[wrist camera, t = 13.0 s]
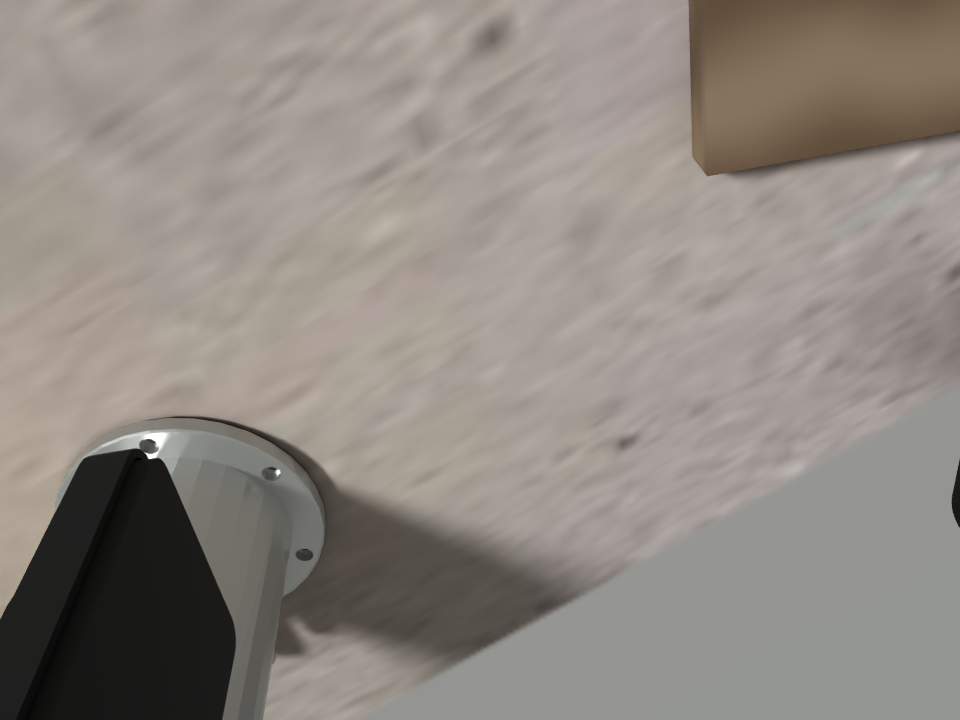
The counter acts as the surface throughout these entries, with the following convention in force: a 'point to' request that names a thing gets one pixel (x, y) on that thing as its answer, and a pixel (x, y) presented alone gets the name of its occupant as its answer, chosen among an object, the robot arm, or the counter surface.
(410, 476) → the counter surface
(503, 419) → the counter surface
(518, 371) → the counter surface
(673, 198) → the counter surface
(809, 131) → the shelf board
